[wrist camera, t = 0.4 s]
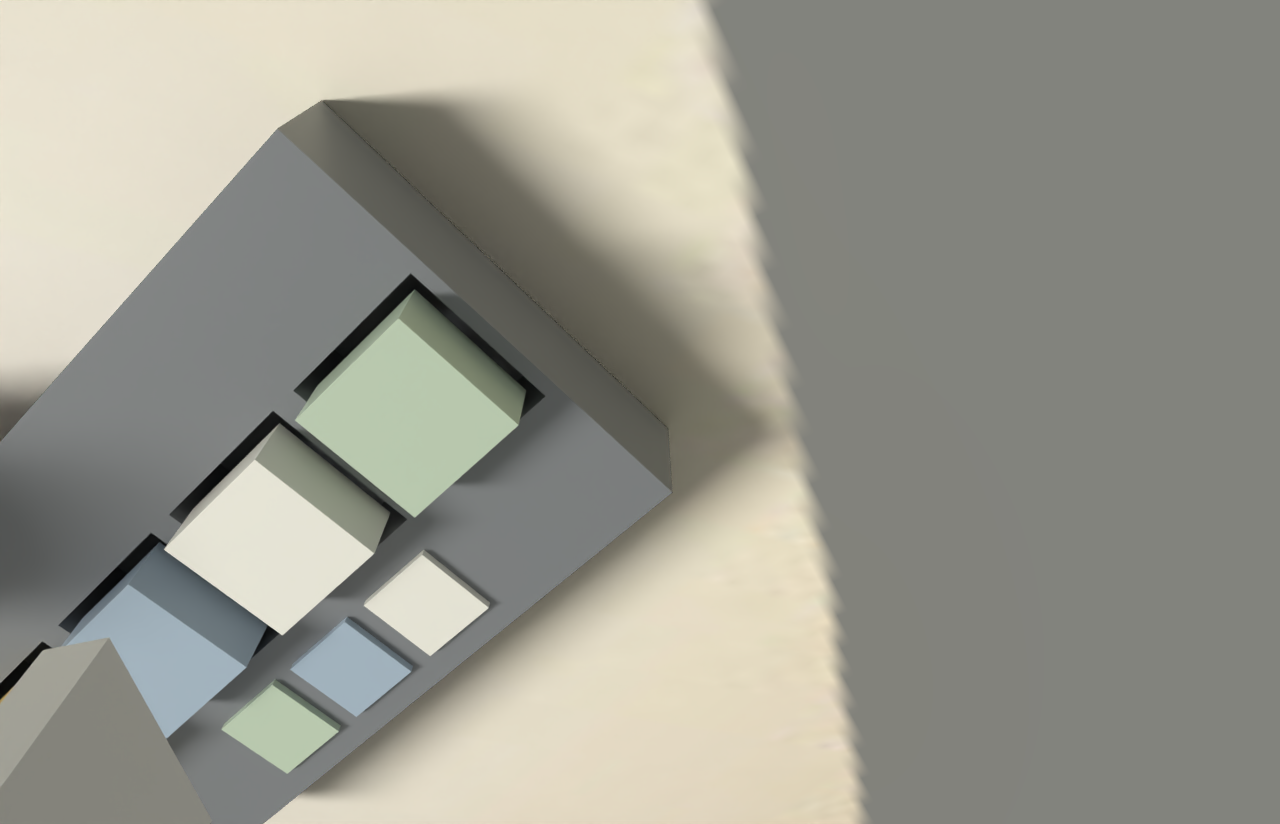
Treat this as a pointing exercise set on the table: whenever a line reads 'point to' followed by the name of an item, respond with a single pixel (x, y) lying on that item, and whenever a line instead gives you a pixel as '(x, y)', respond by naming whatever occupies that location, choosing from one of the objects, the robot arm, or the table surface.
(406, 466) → the key sage
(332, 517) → the key ivory
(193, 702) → the key slate
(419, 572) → the keypad
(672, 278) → the table surface
